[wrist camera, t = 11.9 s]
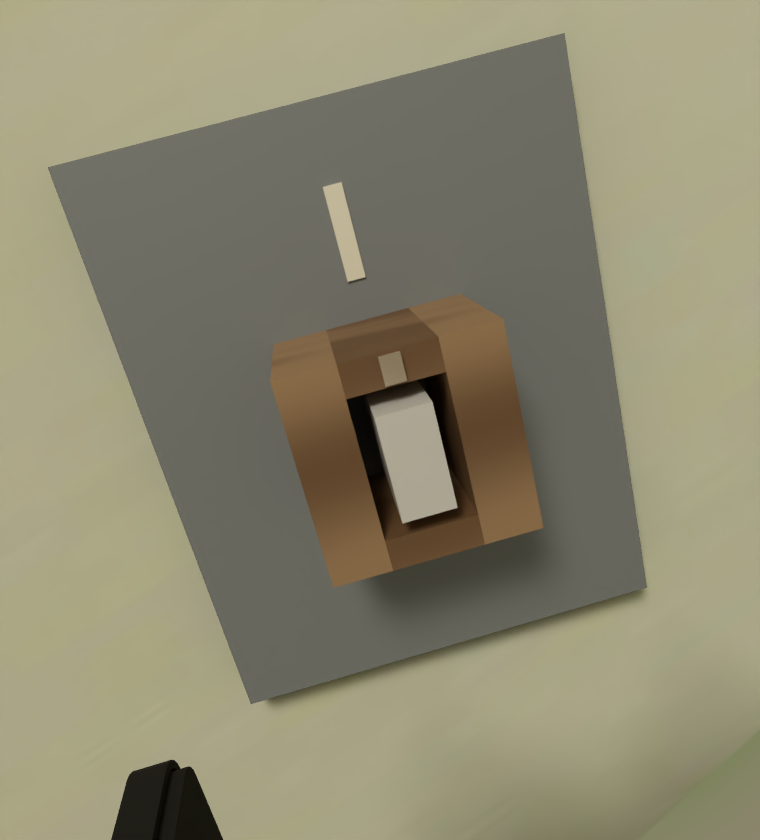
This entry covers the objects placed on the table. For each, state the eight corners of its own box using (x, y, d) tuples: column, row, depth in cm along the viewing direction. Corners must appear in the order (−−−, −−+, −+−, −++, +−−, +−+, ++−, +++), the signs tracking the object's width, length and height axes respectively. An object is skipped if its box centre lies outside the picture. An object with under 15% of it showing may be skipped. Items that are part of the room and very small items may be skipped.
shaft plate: (629, 568, 30) (727, 676, 23) (252, 679, 29) (243, 822, 23) (547, 42, 23) (650, -16, 17) (62, 169, 23) (-29, 159, 16)
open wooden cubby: (496, 466, 26) (545, 530, 21) (324, 515, 26) (333, 591, 21) (460, 293, 24) (505, 319, 19) (273, 344, 24) (269, 384, 19)
